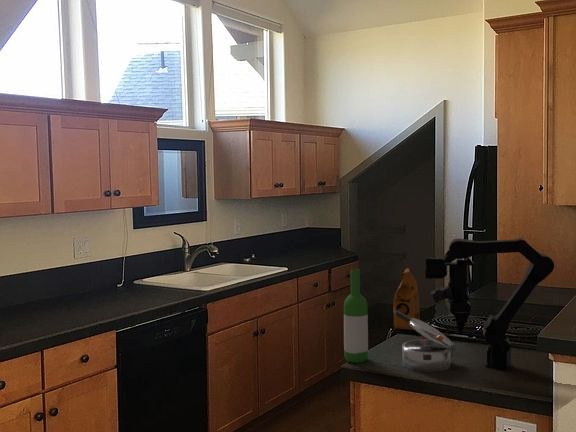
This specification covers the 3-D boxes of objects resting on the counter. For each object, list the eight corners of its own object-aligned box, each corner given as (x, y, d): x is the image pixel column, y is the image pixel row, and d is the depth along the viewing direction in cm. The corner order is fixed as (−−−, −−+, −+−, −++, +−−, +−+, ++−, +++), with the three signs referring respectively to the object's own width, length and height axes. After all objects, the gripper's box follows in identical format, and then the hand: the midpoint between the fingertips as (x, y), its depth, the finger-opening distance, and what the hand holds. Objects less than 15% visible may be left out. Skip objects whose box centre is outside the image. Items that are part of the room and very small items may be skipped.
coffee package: (389, 328, 251) (389, 272, 249) (397, 321, 262) (397, 267, 260) (415, 331, 247) (415, 274, 245) (422, 323, 258) (422, 268, 256)
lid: (451, 341, 213) (455, 335, 213) (455, 355, 199) (459, 349, 198) (394, 308, 216) (398, 303, 215) (394, 320, 201) (398, 314, 200)
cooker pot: (448, 355, 216) (448, 338, 216) (452, 375, 197) (452, 355, 197) (402, 354, 219) (402, 336, 218) (402, 373, 200) (402, 354, 199)
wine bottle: (371, 362, 211) (370, 271, 208) (347, 364, 209) (346, 272, 207) (364, 355, 218) (363, 267, 216) (341, 357, 217) (340, 268, 214)
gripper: (432, 273, 215) (432, 320, 216) (432, 284, 197) (433, 335, 198) (467, 273, 213) (467, 320, 214) (470, 285, 195) (471, 336, 196)
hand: (459, 328), depth 206 cm, fingers open, 9 cm apart
